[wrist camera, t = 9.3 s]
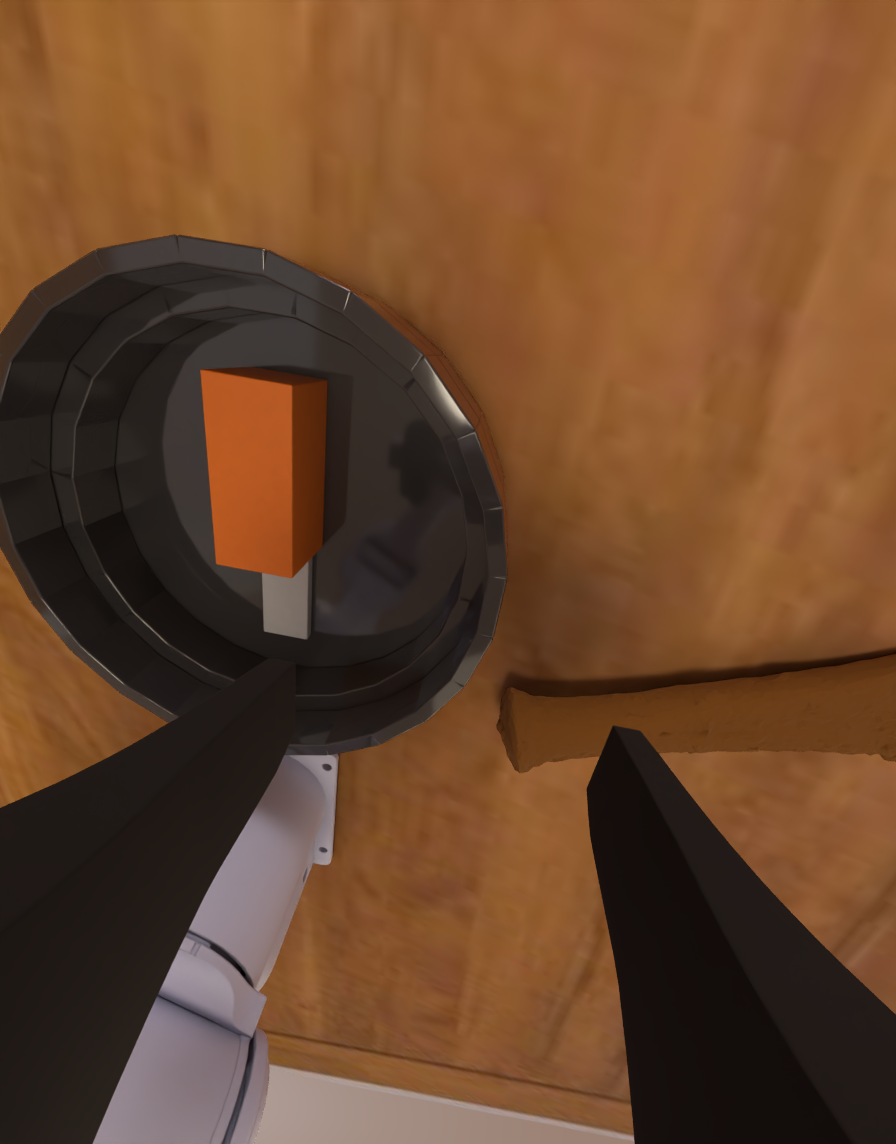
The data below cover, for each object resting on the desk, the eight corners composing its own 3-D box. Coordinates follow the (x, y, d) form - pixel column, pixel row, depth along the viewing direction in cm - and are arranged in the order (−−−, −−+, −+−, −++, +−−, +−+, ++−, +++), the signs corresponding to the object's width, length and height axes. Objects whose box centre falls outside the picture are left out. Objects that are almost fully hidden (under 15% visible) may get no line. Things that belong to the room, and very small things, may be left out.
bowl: (466, 713, 22) (457, 793, 18) (128, 646, 23) (47, 708, 19) (554, 313, 15) (573, 297, 11) (48, 230, 16) (-113, 186, 11)
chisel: (250, 366, 16) (199, 368, 13) (328, 379, 16) (292, 385, 13) (260, 624, 21) (223, 664, 18) (320, 635, 21) (292, 677, 18)
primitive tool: (991, 638, 18) (1095, 701, 15) (951, 744, 20) (1033, 818, 17) (494, 670, 21) (491, 726, 18) (508, 757, 23) (507, 821, 20)
